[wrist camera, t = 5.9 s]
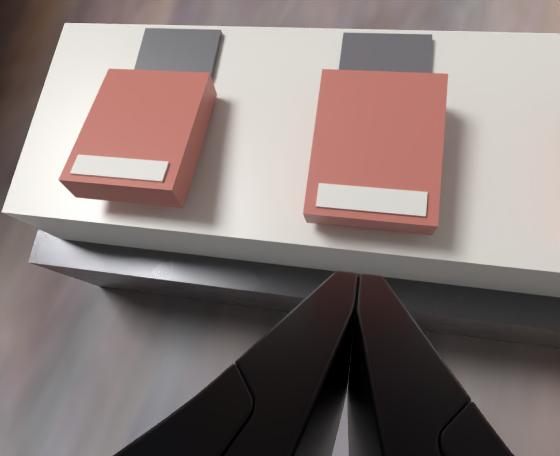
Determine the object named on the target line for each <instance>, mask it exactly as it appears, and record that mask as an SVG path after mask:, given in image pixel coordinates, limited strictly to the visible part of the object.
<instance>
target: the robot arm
mask: <svg viewBox="0 0 560 456" xmlns="http://www.w3.org/2000/svg"><path fill="white" fill-rule="evenodd" d="M358 279H359V281H358ZM357 289H358V291H357ZM356 299H357V300H356ZM355 309H356V310H355ZM354 319H355V320H354ZM353 328H354V330H353ZM352 338H353V340H352ZM351 348H352V350H351ZM350 357H351V360H350ZM349 367H350V370H349ZM348 377H349V380H348ZM347 385H348V439H349V456H514V455H513V454H512V452H511V451H510V450H509V449H508V447H507V446H506V445H505V443H504V442H503V441H502V440H501V438H500V437H499V436H498V434H497V433H496V432H495V430H494V429H493V428H492V427H491V425H490V424H489V423H488V421H487V420H486V419H485V417H484V416H483V414H482V413H481V412H480V410H479V409H478V407H477V406H476V405H475V403H474V402H471V398H470V397H469V395H468V394H467V393H466V391H465V390H464V388H463V387H462V386H461V384H460V383H459V381H458V380H457V379H456V377H455V376H454V375H453V373H452V372H451V370H450V369H449V368H448V366H447V365H446V363H445V362H444V361H443V359H442V358H441V356H440V355H439V354H438V352H437V351H436V350H435V348H434V347H433V345H432V344H431V343H430V341H429V340H428V338H427V337H426V336H425V334H424V333H423V332H422V330H421V329H420V327H419V326H418V325H417V323H416V322H415V320H414V319H413V318H412V316H411V315H410V314H409V312H408V311H407V309H406V308H405V307H404V305H403V304H402V302H401V301H400V300H399V298H398V297H397V296H396V294H395V293H394V291H393V290H392V289H391V287H390V286H389V284H388V283H387V282H386V280H385V279H384V278H383V277H382V276H380V275H373V274H360V276H358V274H357V273H355V272H347V271H336V272H334V273H333V274H332V275H331V276H330V277H329V278H328V279H327V280H325V281H324V282H323V283H322V284H321V285H320V286H319V287H318V288H317V289H315V290H314V291H313V292H312V293H311V294H310V295H309V296H308V297H307V298H305V299H304V300H303V301H302V302H301V303H300V304H299V305H298V306H297V307H295V308H294V309H293V310H292V311H291V312H290V313H289V314H288V315H287V316H285V317H284V318H283V319H282V320H281V321H280V322H279V323H278V324H277V325H275V326H274V327H273V328H272V329H271V330H270V331H269V332H268V333H267V334H265V335H264V336H263V337H262V338H261V339H260V340H259V341H258V342H257V343H255V344H254V345H253V346H252V347H251V348H250V349H249V350H248V351H247V352H245V353H244V354H243V355H242V356H241V357H240V358H239V359H238V360H237V361H236V362H235V364H232V365H231V366H230V367H229V368H227V369H226V370H225V371H224V372H223V373H222V374H221V375H220V376H219V377H217V378H216V379H215V380H214V381H213V382H211V383H210V384H209V385H208V386H207V387H205V388H204V389H203V390H202V391H201V392H200V393H198V394H197V395H196V396H195V397H193V398H192V399H191V400H189V401H188V402H187V403H185V404H184V405H183V406H181V407H180V408H179V409H177V410H176V411H175V412H173V413H172V414H171V415H169V416H168V417H167V418H165V419H164V420H163V421H161V422H160V423H158V424H157V425H156V426H154V427H153V428H151V429H150V430H148V431H147V432H146V433H144V434H143V435H141V436H140V437H139V438H137V439H136V440H134V441H133V442H132V443H130V444H129V445H127V446H126V447H125V448H123V449H122V450H120V451H119V452H118V453H116V454H115V455H113V456H332V452H333V448H334V444H335V440H336V436H337V431H338V427H339V423H340V419H341V415H342V411H343V407H344V402H345V397H346V392H347Z"/></svg>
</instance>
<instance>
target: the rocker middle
mask: <svg viewBox="0 0 560 456" xmlns="http://www.w3.org/2000/svg"><path fill="white" fill-rule="evenodd" d="M447 85H448V74H443V73H416V72H389V71H362V70H335V69H322V75H321V82H320V90H319V97H318V105H317V112H316V120H315V127H314V135H313V142H312V150H311V157H310V165H309V172H308V179H307V187H306V194H305V202H304V209H303V215H304V218H305V220H306V223H314V224H325V225H335V226H345V227H355V228H365V229H375V230H385V231H395V232H405V233H415V234H426V235H432V234H433V233H434V231H435V230H436V229H437V227H438V221H439V206H440V191H441V175H442V160H443V145H444V130H445V115H446V100H447Z"/></svg>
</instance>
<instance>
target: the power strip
mask: <svg viewBox="0 0 560 456" xmlns="http://www.w3.org/2000/svg"><path fill="white" fill-rule="evenodd" d="M108 69H132V70H157V71H181V72H206V73H210V75H211V78H212V81H213V84H214V87H215V90H216V93H217V97H216V100H215V104H214V107H213V110H212V114H211V117H210V120H209V123H208V127H207V130H206V133H205V137H204V140H203V143H202V146H201V150H200V153H199V156H198V160H197V163H196V166H195V170H194V173H193V176H192V179H191V183H190V186H189V189H188V193H187V196H186V199H185V202H184V206H183V208H177V207H167V206H157V205H147V204H136V203H126V202H116V201H106V200H96V199H85V198H76V197H75V196H74V195H73V194H72V193H71V192H70V191H69V190H68V189H67V188H66V187H65V186H64V185H63V184H62V183H61V182H60V181H59V180H58V179H59V177H60V175H61V173H62V171H63V168H64V166H65V164H66V162H67V160H68V157H69V155H70V153H71V151H72V149H73V146H74V144H75V142H76V140H77V138H78V135H79V133H80V131H81V129H82V127H83V124H84V122H85V120H86V118H87V116H88V113H89V111H90V109H91V107H92V104H93V102H94V100H95V98H96V96H97V93H98V91H99V89H100V87H101V85H102V82H103V80H104V78H105V76H106V74H107V71H108ZM322 69H335V70H362V71H389V72H416V73H443V74H448V85H447V100H446V115H445V130H444V145H443V160H442V175H441V191H440V206H439V221H438V227H437V229H436V230H435V231H434V233H433V234H432V235H426V234H415V233H405V232H395V231H385V230H375V229H365V228H355V227H345V226H335V225H325V224H314V223H306V220H305V218H304V215H303V209H304V202H305V194H306V187H307V179H308V172H309V165H310V157H311V150H312V142H313V135H314V127H315V120H316V112H317V105H318V97H319V90H320V82H321V75H322ZM2 213H4V214H6V215H9V216H11V217H13V218H15V219H17V220H20V221H22V222H24V223H26V224H28V225H31V226H33V227H35V228H37V229H39V230H42V231H44V232H46V233H48V234H50V235H53V236H55V237H57V238H59V239H65V240H73V241H82V242H91V243H99V244H108V245H116V246H125V247H133V248H142V249H150V250H159V251H167V252H176V253H185V254H193V255H202V256H210V257H219V258H227V259H236V260H244V261H253V262H261V263H270V264H279V265H287V266H296V267H304V268H313V269H321V270H330V271H347V272H355V273H357V274H373V275H380V276H382V277H390V278H398V279H407V280H415V281H424V282H432V283H441V284H449V285H458V286H466V287H475V288H484V289H492V290H501V291H509V292H518V293H526V294H535V295H543V296H552V297H560V33H516V32H469V31H422V30H374V29H327V28H280V27H232V26H185V25H138V24H90V23H65V24H64V27H63V30H62V33H61V36H60V39H59V42H58V45H57V48H56V51H55V54H54V57H53V60H52V63H51V66H50V69H49V72H48V75H47V78H46V81H45V84H44V87H43V90H42V93H41V96H40V99H39V102H38V105H37V108H36V111H35V114H34V117H33V120H32V123H31V126H30V129H29V132H28V135H27V138H26V141H25V144H24V147H23V150H22V153H21V156H20V159H19V162H18V164H17V167H16V170H15V173H14V176H13V179H12V182H11V185H10V188H9V191H8V194H7V197H6V200H5V203H4V206H3V209H2Z"/></svg>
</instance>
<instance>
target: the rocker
mask: <svg viewBox="0 0 560 456" xmlns="http://www.w3.org/2000/svg"><path fill="white" fill-rule="evenodd" d="M216 97H217V93H216V90H215V87H214V84H213V81H212V78H211V75H210V73H206V72H181V71H157V70H132V69H108V71H107V74H106V76H105V78H104V80H103V82H102V85H101V87H100V89H99V91H98V93H97V96H96V98H95V100H94V102H93V104H92V107H91V109H90V111H89V113H88V116H87V118H86V120H85V122H84V124H83V127H82V129H81V131H80V133H79V135H78V138H77V140H76V142H75V144H74V146H73V149H72V151H71V153H70V155H69V157H68V160H67V162H66V164H65V166H64V168H63V171H62V173H61V175H60V177H59V179H58V180H59V181H60V182H61V183H62V184H63V185H64V186H65V187H66V188H67V189H68V190H69V191H70V192H71V193H72V194H73V195H74V196H75V197H76V198H85V199H96V200H106V201H116V202H126V203H136V204H147V205H157V206H167V207H177V208H183V206H184V202H185V199H186V196H187V193H188V189H189V186H190V183H191V179H192V176H193V173H194V170H195V166H196V163H197V160H198V156H199V153H200V150H201V146H202V143H203V140H204V137H205V133H206V130H207V127H208V123H209V120H210V117H211V114H212V110H213V107H214V104H215V100H216Z"/></svg>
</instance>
